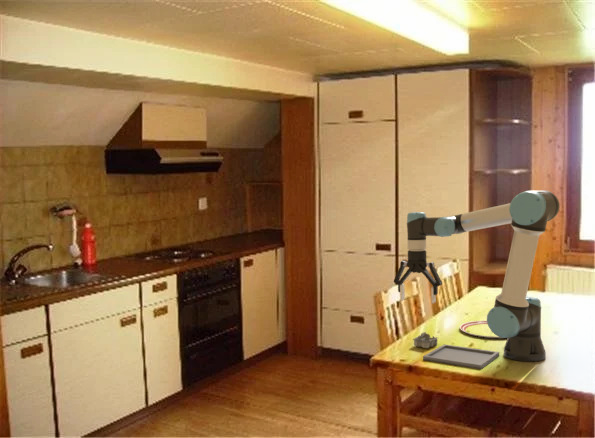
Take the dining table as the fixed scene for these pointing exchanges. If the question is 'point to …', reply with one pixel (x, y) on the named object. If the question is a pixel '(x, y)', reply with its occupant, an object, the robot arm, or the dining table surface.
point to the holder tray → (461, 356)
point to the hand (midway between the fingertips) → (417, 301)
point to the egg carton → (425, 340)
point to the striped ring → (465, 325)
